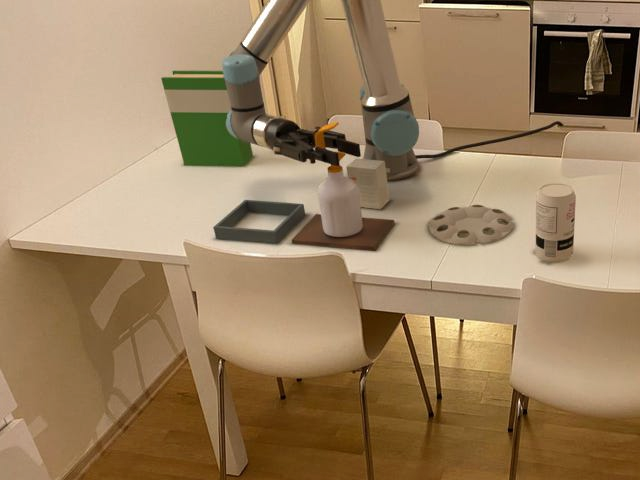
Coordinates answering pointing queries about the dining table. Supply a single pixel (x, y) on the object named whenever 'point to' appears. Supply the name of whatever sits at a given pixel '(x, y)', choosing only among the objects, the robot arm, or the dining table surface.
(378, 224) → the walnut board
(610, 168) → the dining table surface
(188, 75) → the hardback book
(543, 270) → the dining table surface
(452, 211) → the paint palette
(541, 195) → the supplement can
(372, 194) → the small box
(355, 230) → the soap bottle
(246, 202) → the square frame
